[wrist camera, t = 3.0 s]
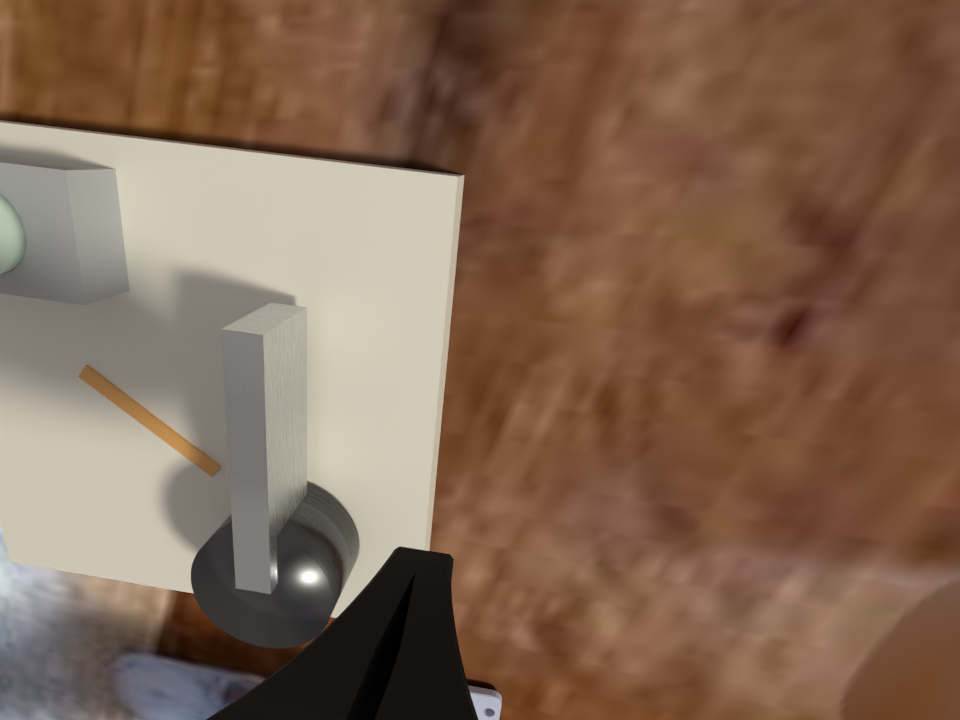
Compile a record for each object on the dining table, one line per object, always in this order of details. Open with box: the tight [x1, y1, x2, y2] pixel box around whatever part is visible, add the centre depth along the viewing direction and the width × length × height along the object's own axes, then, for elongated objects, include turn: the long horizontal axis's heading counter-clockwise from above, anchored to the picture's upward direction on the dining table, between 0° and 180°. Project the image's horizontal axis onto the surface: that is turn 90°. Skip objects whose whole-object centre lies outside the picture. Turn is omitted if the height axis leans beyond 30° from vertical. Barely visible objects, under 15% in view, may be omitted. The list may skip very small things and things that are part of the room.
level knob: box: [191, 302, 360, 649], centre depth 19 cm, size 12×5×4 cm, turn 174°
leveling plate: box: [0, 120, 464, 618], centre depth 20 cm, size 18×18×4 cm
